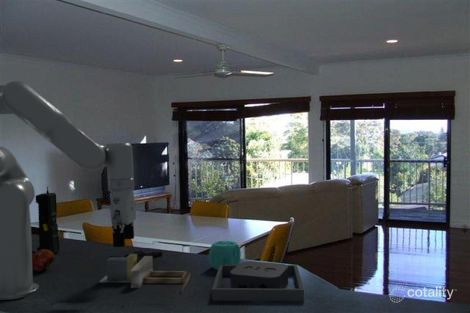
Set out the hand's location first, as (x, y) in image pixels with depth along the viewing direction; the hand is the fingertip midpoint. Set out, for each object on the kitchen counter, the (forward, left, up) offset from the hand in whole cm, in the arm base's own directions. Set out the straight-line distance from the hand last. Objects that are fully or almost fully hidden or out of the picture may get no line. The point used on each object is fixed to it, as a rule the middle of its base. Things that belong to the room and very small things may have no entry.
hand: (124, 242), depth 139 cm
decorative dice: (+28, +18, -12) cm, 36 cm away
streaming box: (+40, -1, -13) cm, 42 cm away
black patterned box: (0, +20, -13) cm, 24 cm away
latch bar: (-2, 0, -11) cm, 11 cm away
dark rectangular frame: (+39, -2, -12) cm, 41 cm away
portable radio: (-39, +34, -12) cm, 53 cm away
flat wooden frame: (+5, 0, -12) cm, 13 cm away
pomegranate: (-31, +13, -12) cm, 35 cm away
